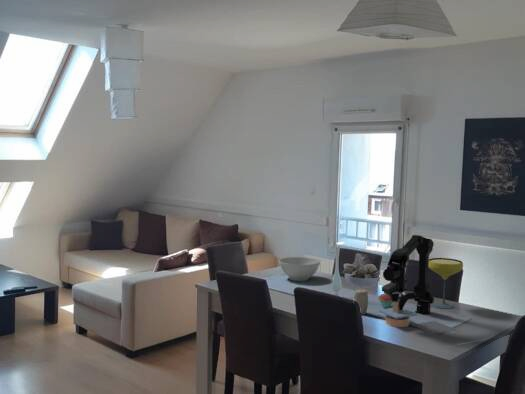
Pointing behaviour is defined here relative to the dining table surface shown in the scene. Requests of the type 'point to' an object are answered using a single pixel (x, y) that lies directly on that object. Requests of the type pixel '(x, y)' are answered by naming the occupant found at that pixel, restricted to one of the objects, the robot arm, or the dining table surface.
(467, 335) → the dining table surface
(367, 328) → the dining table surface
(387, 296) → the cupcake
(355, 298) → the carving
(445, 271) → the cocktail glass
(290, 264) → the decorative bowl
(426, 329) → the mat
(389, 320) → the bowl
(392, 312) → the cover
